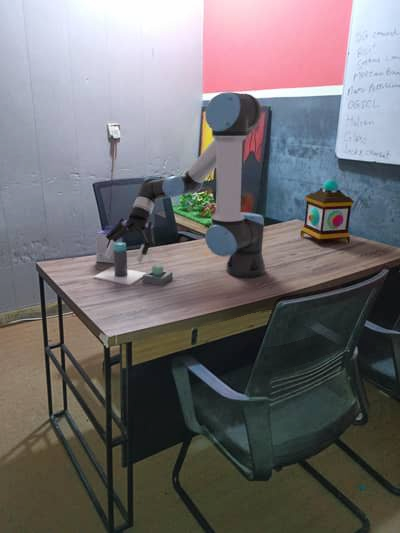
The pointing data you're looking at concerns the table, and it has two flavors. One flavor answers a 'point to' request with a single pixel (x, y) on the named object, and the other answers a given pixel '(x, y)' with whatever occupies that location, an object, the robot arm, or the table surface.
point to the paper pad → (128, 280)
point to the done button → (157, 270)
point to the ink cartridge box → (104, 246)
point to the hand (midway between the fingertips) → (122, 259)
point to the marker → (120, 259)
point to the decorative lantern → (327, 213)
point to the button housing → (157, 278)
